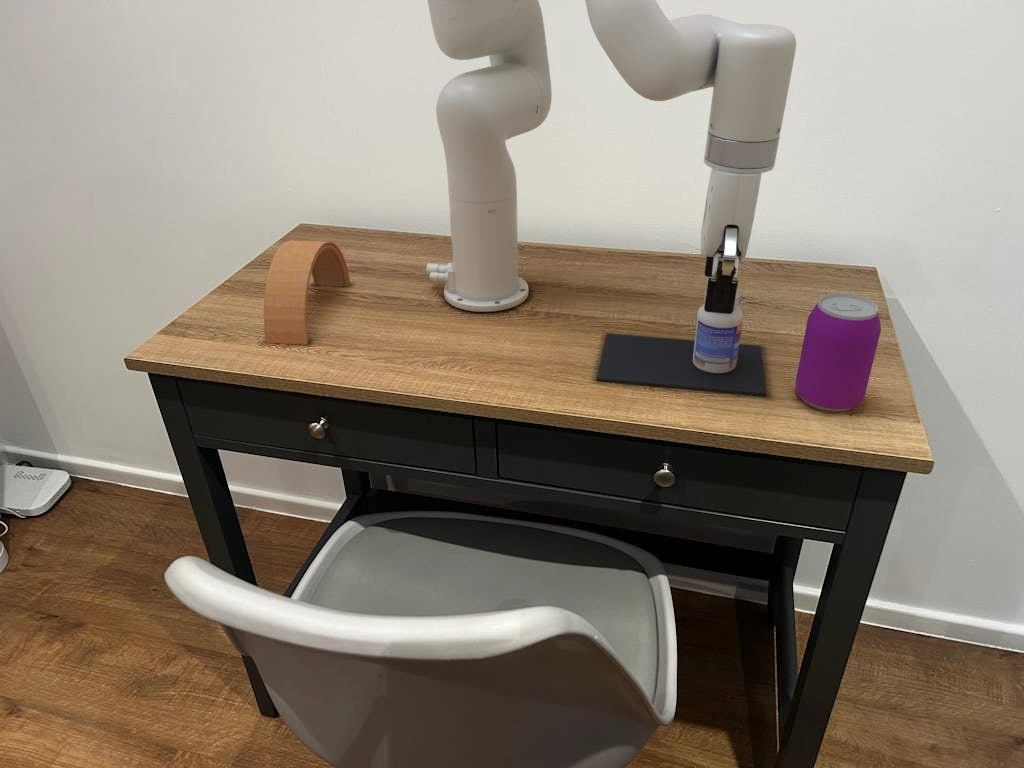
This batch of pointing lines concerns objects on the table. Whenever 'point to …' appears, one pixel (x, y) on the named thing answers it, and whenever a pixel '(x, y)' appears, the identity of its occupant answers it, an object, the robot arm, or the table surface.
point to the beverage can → (838, 352)
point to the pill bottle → (717, 339)
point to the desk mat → (677, 366)
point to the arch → (298, 286)
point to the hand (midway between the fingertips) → (717, 293)
